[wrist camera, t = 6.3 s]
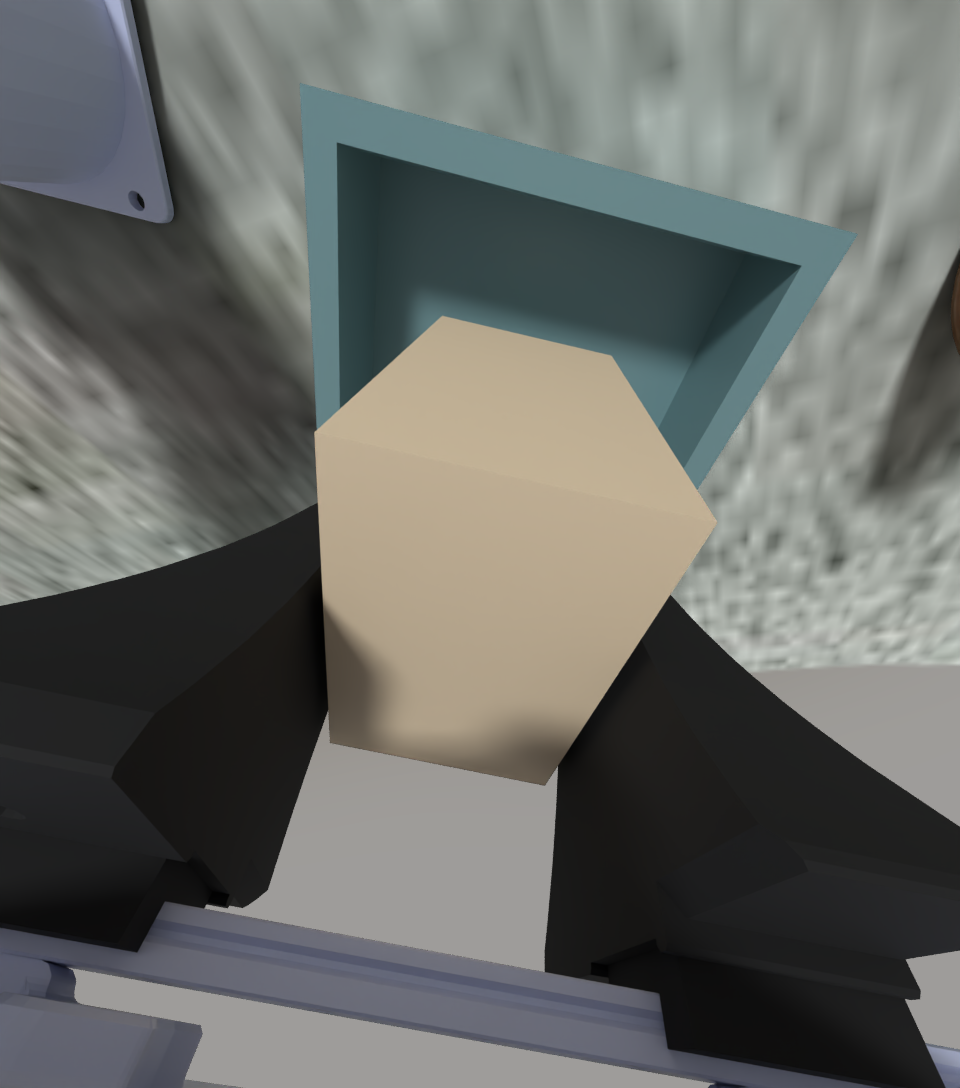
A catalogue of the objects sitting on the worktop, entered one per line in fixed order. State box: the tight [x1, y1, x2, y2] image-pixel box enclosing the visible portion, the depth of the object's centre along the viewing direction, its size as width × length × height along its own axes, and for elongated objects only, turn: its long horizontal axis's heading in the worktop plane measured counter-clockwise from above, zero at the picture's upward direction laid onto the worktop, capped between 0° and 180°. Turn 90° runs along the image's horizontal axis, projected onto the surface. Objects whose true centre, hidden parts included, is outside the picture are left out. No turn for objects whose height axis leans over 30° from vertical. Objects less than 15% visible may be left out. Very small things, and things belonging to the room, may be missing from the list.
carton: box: [314, 316, 717, 785], centre depth 9 cm, size 4×6×7 cm, turn 169°
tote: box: [300, 83, 858, 489], centre depth 18 cm, size 13×22×4 cm, turn 168°
